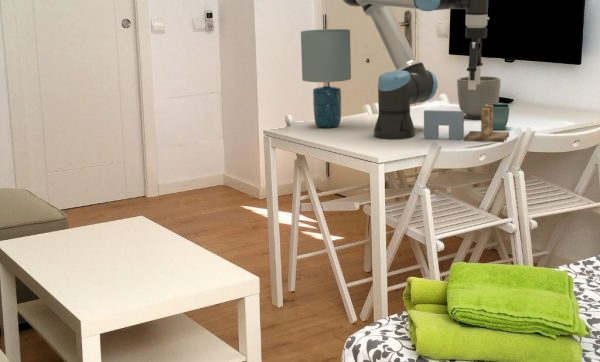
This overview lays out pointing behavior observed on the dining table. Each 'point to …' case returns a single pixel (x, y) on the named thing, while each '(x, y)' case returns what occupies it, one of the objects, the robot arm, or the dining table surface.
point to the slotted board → (443, 123)
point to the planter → (477, 95)
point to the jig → (486, 128)
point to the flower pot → (500, 116)
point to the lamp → (326, 70)
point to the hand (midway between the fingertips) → (474, 86)
